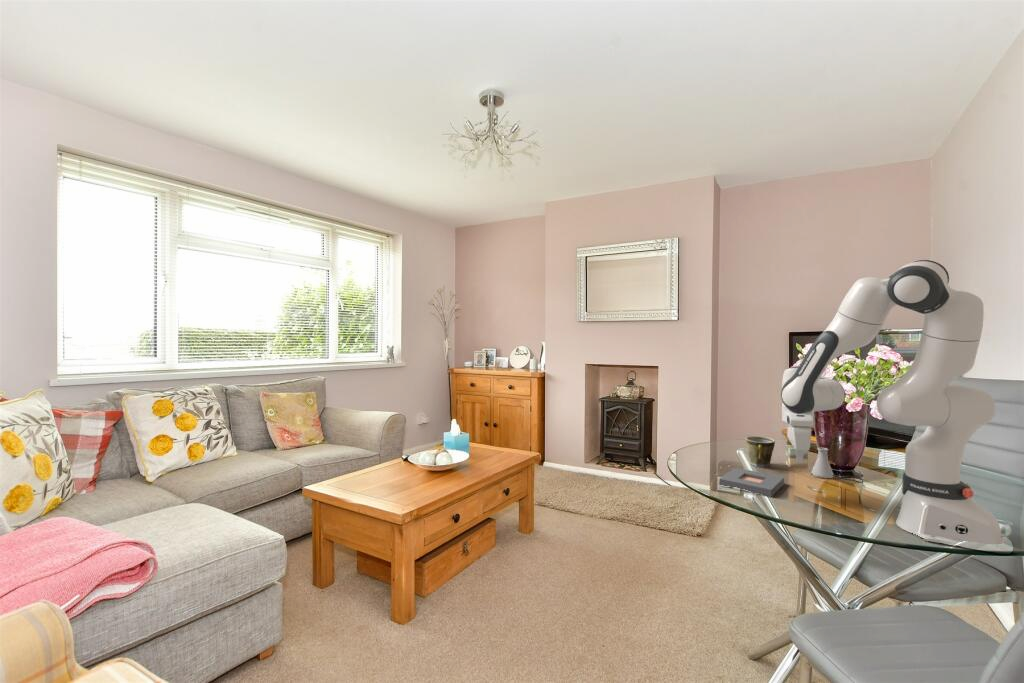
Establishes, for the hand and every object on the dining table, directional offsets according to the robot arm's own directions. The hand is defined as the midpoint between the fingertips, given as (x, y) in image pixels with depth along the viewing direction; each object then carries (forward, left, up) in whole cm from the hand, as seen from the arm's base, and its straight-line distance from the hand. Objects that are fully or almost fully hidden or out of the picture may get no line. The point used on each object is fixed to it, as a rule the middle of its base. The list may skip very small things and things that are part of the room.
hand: (797, 459), depth 153 cm
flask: (-2, -26, -12) cm, 29 cm away
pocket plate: (+14, 0, -12) cm, 18 cm away
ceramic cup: (+18, -24, -12) cm, 32 cm away
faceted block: (0, 0, -2) cm, 2 cm away
